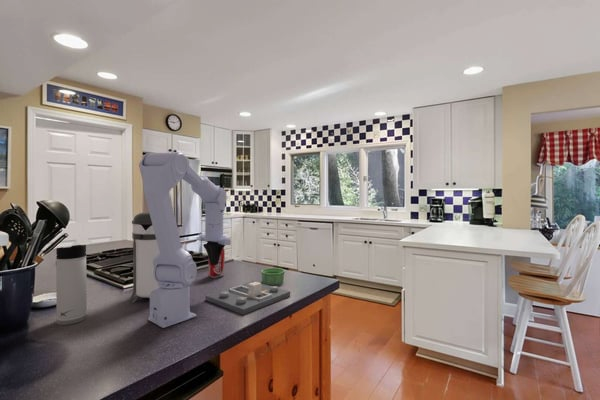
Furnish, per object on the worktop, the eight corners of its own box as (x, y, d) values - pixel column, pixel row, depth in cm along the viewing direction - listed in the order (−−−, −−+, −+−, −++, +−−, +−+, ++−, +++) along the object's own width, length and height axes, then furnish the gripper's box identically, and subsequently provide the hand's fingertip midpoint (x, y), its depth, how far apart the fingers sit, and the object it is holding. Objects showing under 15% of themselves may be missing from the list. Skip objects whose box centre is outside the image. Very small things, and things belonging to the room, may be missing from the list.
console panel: (243, 314, 83) (243, 305, 83) (205, 300, 94) (205, 291, 94) (290, 295, 99) (290, 287, 99) (252, 285, 110) (252, 277, 110)
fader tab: (253, 296, 93) (253, 285, 93) (248, 295, 94) (248, 283, 94) (261, 294, 95) (261, 282, 95) (255, 292, 97) (255, 281, 97)
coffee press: (190, 295, 98) (190, 204, 98) (138, 309, 87) (137, 205, 86) (167, 284, 110) (167, 202, 110) (118, 294, 99) (118, 203, 98)
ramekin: (269, 287, 109) (269, 275, 108) (256, 281, 116) (256, 270, 115) (289, 282, 114) (289, 271, 114) (276, 277, 121) (276, 266, 121)
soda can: (207, 275, 124) (207, 245, 123) (222, 273, 126) (222, 244, 126) (209, 278, 118) (209, 248, 118) (225, 277, 121) (225, 247, 120)
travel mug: (63, 328, 74) (62, 247, 74) (52, 321, 78) (51, 244, 77) (91, 319, 80) (91, 243, 79) (80, 313, 83) (79, 241, 83)
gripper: (238, 224, 98) (237, 265, 98) (211, 221, 107) (211, 259, 107) (220, 226, 93) (220, 269, 93) (193, 222, 102) (193, 262, 102)
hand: (214, 264), depth 100 cm, fingers closed
